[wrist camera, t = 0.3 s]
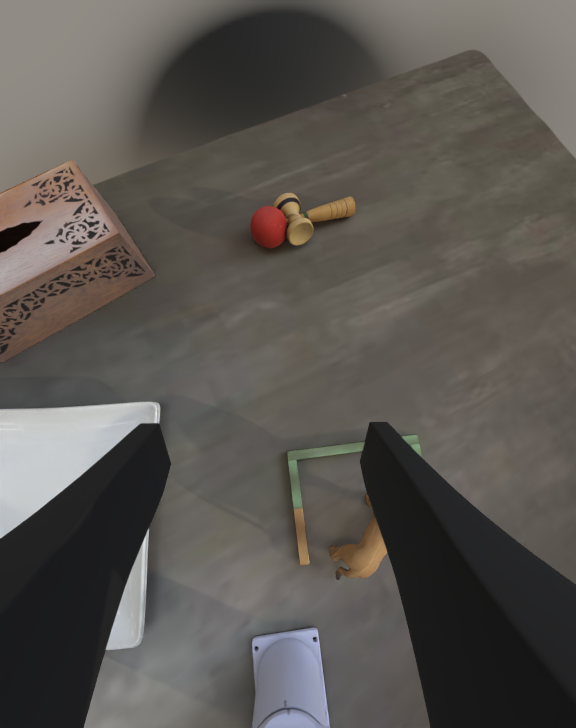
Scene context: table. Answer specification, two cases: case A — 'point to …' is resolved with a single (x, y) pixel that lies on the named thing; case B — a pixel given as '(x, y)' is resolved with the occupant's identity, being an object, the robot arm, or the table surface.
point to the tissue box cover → (59, 257)
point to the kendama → (293, 220)
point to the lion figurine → (361, 552)
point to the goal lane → (295, 484)
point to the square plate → (70, 478)
